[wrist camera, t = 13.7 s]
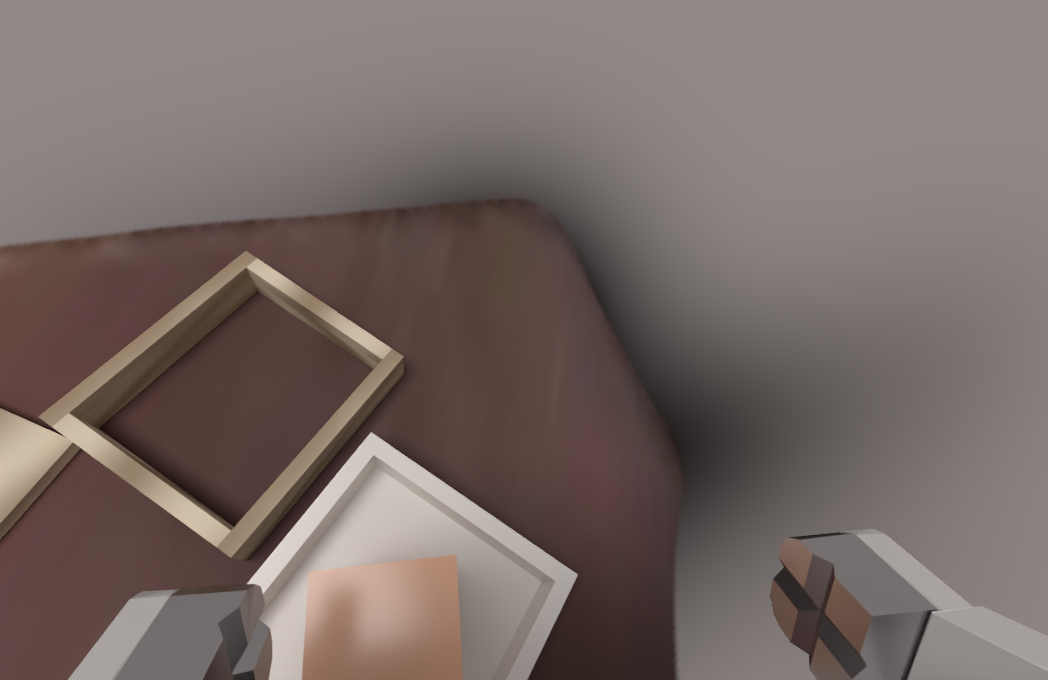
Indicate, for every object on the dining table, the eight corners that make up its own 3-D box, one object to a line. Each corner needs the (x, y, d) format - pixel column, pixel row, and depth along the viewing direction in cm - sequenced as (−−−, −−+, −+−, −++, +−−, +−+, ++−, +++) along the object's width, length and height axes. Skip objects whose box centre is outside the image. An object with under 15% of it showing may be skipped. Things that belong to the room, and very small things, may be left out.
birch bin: (403, 373, 29) (403, 356, 27) (247, 560, 24) (230, 557, 21) (257, 275, 30) (245, 250, 28) (71, 432, 24) (38, 417, 22)
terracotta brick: (441, 671, 23) (464, 723, 14) (340, 688, 22) (296, 756, 13) (438, 566, 24) (456, 554, 16) (344, 577, 23) (309, 571, 15)
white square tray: (557, 576, 26) (578, 574, 23) (420, 849, 20) (423, 895, 17) (374, 449, 27) (371, 432, 24) (193, 677, 21) (158, 691, 18)
